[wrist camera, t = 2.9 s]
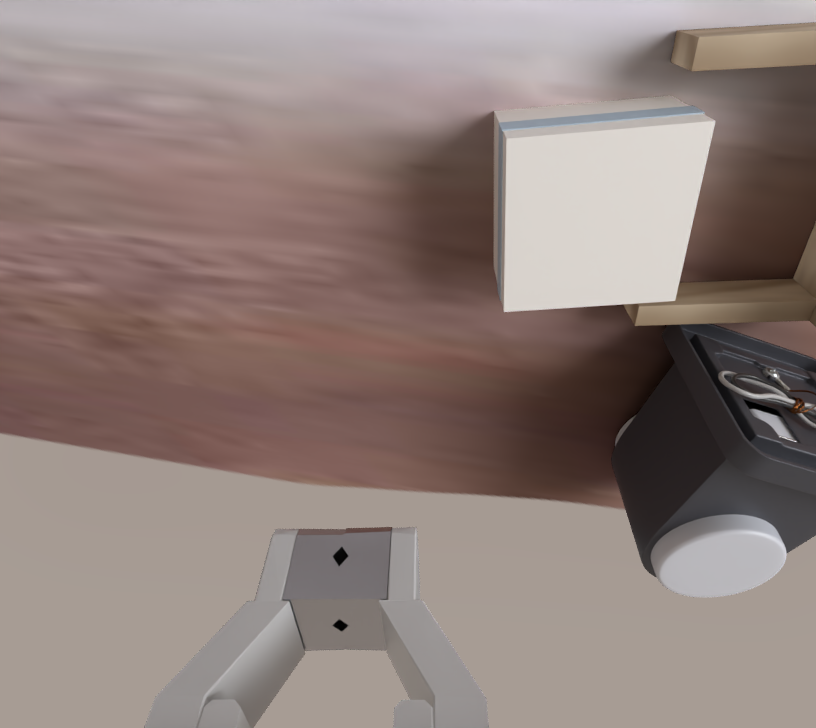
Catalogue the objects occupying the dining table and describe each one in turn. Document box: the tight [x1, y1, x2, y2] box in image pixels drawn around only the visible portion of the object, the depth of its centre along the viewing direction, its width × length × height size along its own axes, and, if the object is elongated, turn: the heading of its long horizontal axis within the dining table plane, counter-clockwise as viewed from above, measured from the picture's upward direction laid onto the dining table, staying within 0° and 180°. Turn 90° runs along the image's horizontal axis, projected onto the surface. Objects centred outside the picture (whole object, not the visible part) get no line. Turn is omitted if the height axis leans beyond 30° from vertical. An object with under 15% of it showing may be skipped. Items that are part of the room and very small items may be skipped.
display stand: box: [623, 23, 816, 327], centre depth 25 cm, size 13×10×6 cm
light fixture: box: [611, 324, 816, 597], centre depth 32 cm, size 11×13×11 cm
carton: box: [494, 95, 715, 312], centre depth 26 cm, size 8×8×5 cm
